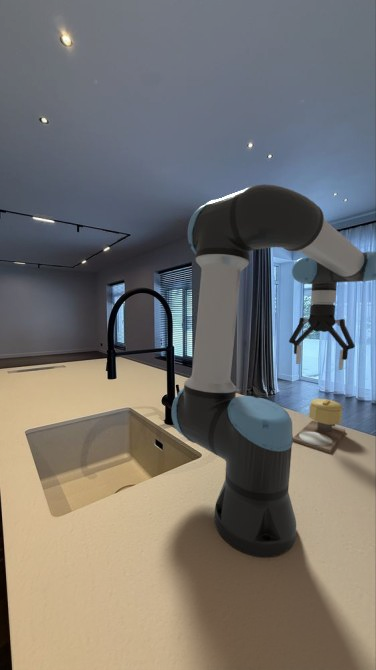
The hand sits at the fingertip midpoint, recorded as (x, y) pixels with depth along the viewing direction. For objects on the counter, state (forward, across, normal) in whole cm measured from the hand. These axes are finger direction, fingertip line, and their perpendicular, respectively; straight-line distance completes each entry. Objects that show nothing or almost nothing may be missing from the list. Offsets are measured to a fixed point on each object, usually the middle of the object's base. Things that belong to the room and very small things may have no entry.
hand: (318, 366), depth 96 cm
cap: (+18, -3, -1) cm, 18 cm away
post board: (+23, -3, +4) cm, 23 cm away
